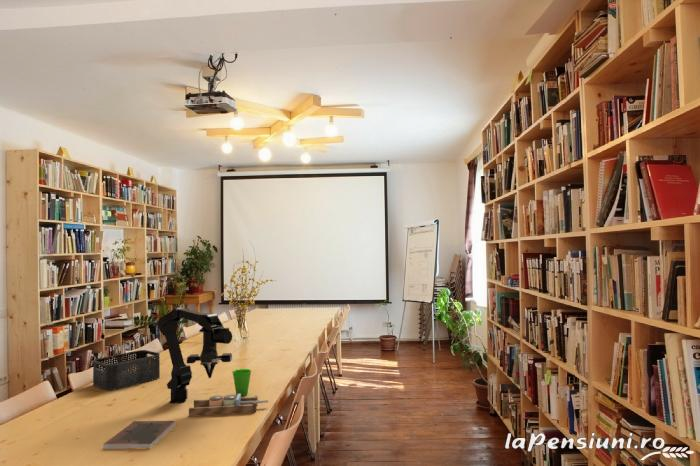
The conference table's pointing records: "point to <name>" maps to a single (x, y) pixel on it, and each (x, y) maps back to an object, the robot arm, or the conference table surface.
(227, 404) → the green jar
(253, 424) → the conference table surface
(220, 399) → the jar
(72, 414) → the conference table surface
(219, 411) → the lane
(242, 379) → the cup
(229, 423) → the conference table surface
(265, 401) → the pusher
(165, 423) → the picture frame
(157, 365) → the storage bin
